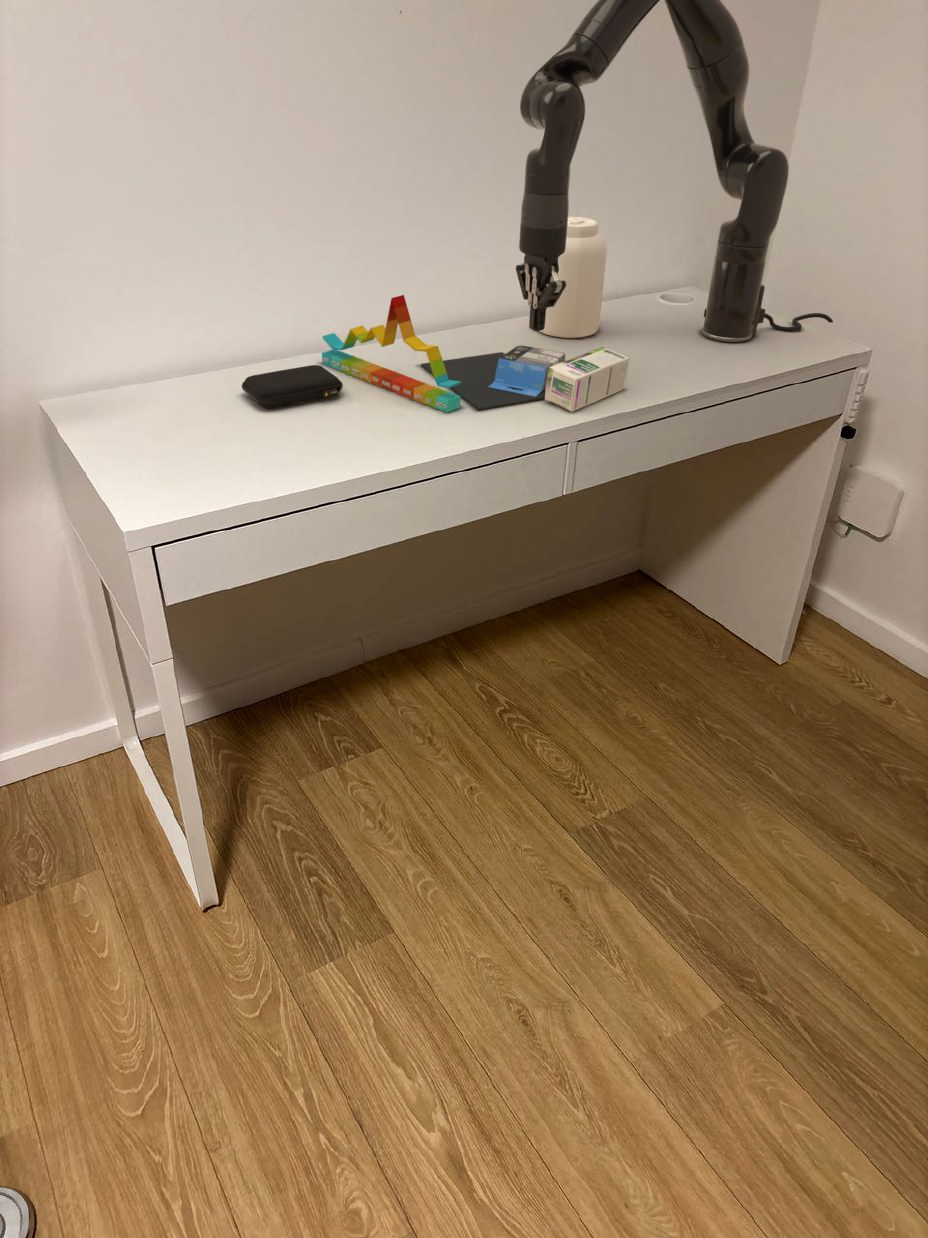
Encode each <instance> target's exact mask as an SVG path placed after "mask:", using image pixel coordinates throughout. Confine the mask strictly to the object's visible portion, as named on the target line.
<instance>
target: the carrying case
mask: <svg viewBox="0 0 928 1238" xmlns="http://www.w3.org/2000/svg"><path fill="white" fill-rule="evenodd" d="M343 387H344V383H343V381H342V380H340V378H338V377H337V376H336V375H334V373H332V372H330V371H329V370H328V369H326V368H325V367H323V366H321V365H319V364H311V365H304V366H300V367H293V368H292V367H291V368H286V369H282V370H275V371H270V372H264V373H258V374H253V375H249V376H247V377H246V378H245V379H244V380H243V382H242V384H241V389H242V391H243V392H244V393H245V394H247V395H248V396H249V397H250V398H251V399H252V400H253V401H255V402H256V403H257V404H258V405H260V406H261V407H263V408H265V409H272V408H278V407H284V406H289V405H295V404H299V403H306V402H311V401H315V400H321V399H325V398H330V397H335V396H337V395H339V394H340V391H342V390H343Z"/></svg>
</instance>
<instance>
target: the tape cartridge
mask: <svg viewBox="0 0 928 1238" xmlns="http://www.w3.org/2000/svg"><path fill="white" fill-rule="evenodd" d="M504 354H505V355H503V356H502V357H500V358H499V360H498V365H497V370H496V375H495V380H494V382H493V383H492V384H491V385H490V386H488V388H494V389H498V390H503V391H508V392H513V393H517V394H523V395H527V396H532V397H536V396H537V395H538V394H539V393H540V392H541V391H543V390H544V389H545V388H546V382H547V377H548V371H549V367H551V366H554V365H556V364H559V363H562V362H564V361H566V353H565V352H560V351H554V350H549V349H545V348H538V347H534V346H529V345H522V344H518V345H516V346H515V347H513V348H512V349H511V350H509V351H508V352H506V353H504ZM507 387H513V388H518V389H523V390H513V389H512V388H507Z"/></svg>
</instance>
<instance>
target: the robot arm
mask: <svg viewBox="0 0 928 1238" xmlns="http://www.w3.org/2000/svg"><path fill="white" fill-rule="evenodd" d="M660 1H661V0H597V1H596V2H595V3H594V5H593V6H592V7H591V8H590V9H589V11H588V12H587V13H586V15H585V16H584V17H583V19H582V20H581V21H580V23H579V24H578V26H577V27H576V28H575V30H574V31H573V33H572V34H571V36H570V38H569V39H568V40H567V42H566V43H565V44H564V46H563V47H562V48H560V49H559V50H558V51H557V52H556V53H555V54H553V55H552V56H550V58H549V59H548V60H547V61H546V62H545V63H544V64H543V65H542V66H541V67H540V68H539V69H538V70H537V71H536V72H534V74H533V75H532V76H531V77H530V79H529V80H528V82H527V83H526V85H525V86H524V88H523V91H522V93H521V97H520V101H519V112H520V116H521V119H522V120H523V122H524V123H525V124H526V125H527V126H529V127H531V128H533V129H535V130H540V131H544V132H543V136H542V140H541V143H540V144H541V145H540V147H536V148H534V149H532V150H530V151H529V152H528V153H527V155H526V160H525V166H524V167H525V168H524V184H523V189H524V190H523V194H522V195H523V196H522V200H521V209H520V224H519V225H520V226H519V243H518V249H519V251H520V252H521V253H522V254H523V255H524V256H523V262H522V263H520V264H517V265H516V266H515V271H516V275H517V279H518V283H519V287H520V291H521V295H522V298H523V300H524V301H526V300H527V305H528V307H529V308H530V309H529V321H528V322H529V323H528V328H529V329H530V330H531V331H533V332H540V331H541V330H543V329H544V328H545V317H546V309H547V308H548V307H554V305H555V304H556V302H557V301H558V299H559V297H560V296H561V294H562V292H563V291H564V289H565V287H566V282H565V281H564V280H563V281H560V279H559V277H558V272H559V265H558V257H559V256H560V255H562V254H563V253H564V252H565V249H566V237H567V225H568V217H569V214H570V213H569V210H570V202H569V201H570V200H569V195H570V193H569V191H570V179H571V165H572V161H573V159H574V156H575V152H576V150H577V146H578V143H579V140H580V137H581V134H582V129H583V127H584V122H585V118H586V100H585V96H584V94H583V91H582V89H581V88H580V87H583V86H585V85H589V84H594V83H595V82H597V81H598V80H600V79H601V78H602V76H603V75H604V74H605V72H606V71H607V70H608V69H609V67H610V65H612V63H613V61H614V60H615V59H616V57H617V56H618V54H619V53H620V51H621V50H622V49H623V47H624V46H625V44H626V43H627V41H628V40H629V38H631V36H632V34H633V33H634V32H635V31H636V30H637V28H638V26H639V25H640V24H641V23H642V22H643V21H644V19H645V18H646V17H647V16H648V15H649V13H650V12H651V11H652V10H653V9H654V8H655V7H656V5H657V4H659V2H660ZM664 3H665V6H666V8H667V11H668V15H669V17H670V20H671V23H672V26H673V29H674V31H675V35H676V37H677V40H678V43H679V46H680V49H681V53H682V55H683V59H684V63H685V66H686V69H687V72H688V75H689V79H690V82H691V84H692V87H693V89H694V92H695V95H696V98H697V101H698V104H699V107H700V110H701V114H702V118H703V120H704V123H705V127H706V129H707V133H708V136H709V140H710V146H711V150H712V156H713V160H714V164H715V169H716V170H715V171H716V174H717V179H718V182H719V185H720V187H721V188H722V190H723V192H724V193H725V194H726V195H727V196H729V197H731V198H733V199H736V200H739V201H741V202H740V206H739V208H738V209H739V210H738V213H737V215H736V217H735V218H733V219H730V220H726V221H724V222H722V223H721V224H720V226H719V230H718V234H717V241H716V247H715V253H714V260H713V266H712V273H711V277H710V278H711V279H710V283H709V290H708V297H707V302H706V303H707V304H706V308H704V312H703V318H704V321H703V326H702V329H701V333H702V335H703V336H705V337H706V338H708V339H711V340H715V341H719V342H725V343H726V342H727V343H742V342H746V341H749V340H751V339H752V338H754V337H756V336H757V330H758V324H763V323H764V319H766V320H768V323H769V326H770V327H771V328H772V329H774V330H777V331H780V332H781V331H782V332H794V331H800V330H801V329H802V328H803V326H802V324H801V323H800V322H799V321H802V320H806V319H812V318H820V319H824V320H826V321H827V322H828V323H834V321H833V319H832V318H831V317H830V316H829V315H828V314H826V313H822V312H812V313H806V314H802V315H799V316H796V317H794V318H793V319H792V320H791V321H792V324H793V325H794V326H783V325H780V324H777V323H775V322H774V319H773V316H771V315H770V314H768V313H766V309H765V308H763V307H762V304H763V300H764V299H763V298H764V294H765V285H764V284H762V282H763V277H764V272H765V269H766V261H767V258H768V257H767V256H768V252H769V246H770V241H771V237H772V235H773V233H774V231H775V230H776V227H777V225H778V222H779V219H780V215H781V210H782V206H783V204H784V203H783V202H784V199H785V195H786V190H787V185H788V182H789V173H790V172H789V171H790V170H789V169H790V166H789V161H788V157H787V155H786V154H785V153H784V152H783V151H782V150H781V149H778V148H775V147H772V146H767V145H762V144H758V143H756V142H755V141H754V138H753V137H752V134H751V132H750V129H749V125H748V121H747V119H746V115H745V101H746V96H747V91H748V87H749V81H750V61H749V56H748V54H747V50H746V46H745V43H744V39H743V36H742V33H741V30H740V27H739V25H738V23H737V21H736V19H735V17H734V16H733V14H732V13H731V11H730V10H729V9H728V8H727V6H726V5H725V3H723V1H722V0H664Z"/></svg>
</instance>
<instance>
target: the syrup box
mask: <svg viewBox="0 0 928 1238" xmlns="http://www.w3.org/2000/svg"><path fill="white" fill-rule="evenodd" d="M629 364H630V357H628V356H626V355H624V354H622V353H619V352H617V351H614V350H611V349H609V348H606V347H604V346H601V347H598V348H596V349H594V350H591V351H588V352H586V353H583V354H580V355H577V356H575V357H571V358H569V359H567V360H565V361H564V362H562V363H559V364H556V365H554V366H551V367H549V371H548V377H547V382H546V391H545V399H544V400H545V401H547V402H550V403H552V404H554V405H556V406H558V407H560V408H562V409H565V410H566V411H569V412H571V413H573V412H575V411H577V410H579V409H582V408H584V407H586V406H589V405H592V404H593V403H596V402H598V401H600V400H603V399H605V398H608V397H610V396H613V395H614V394H616V393H619V392H621V391H623V390H624V388H625V385H626V384H625V383H626V380H627V374H628V368H629Z"/></svg>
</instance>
